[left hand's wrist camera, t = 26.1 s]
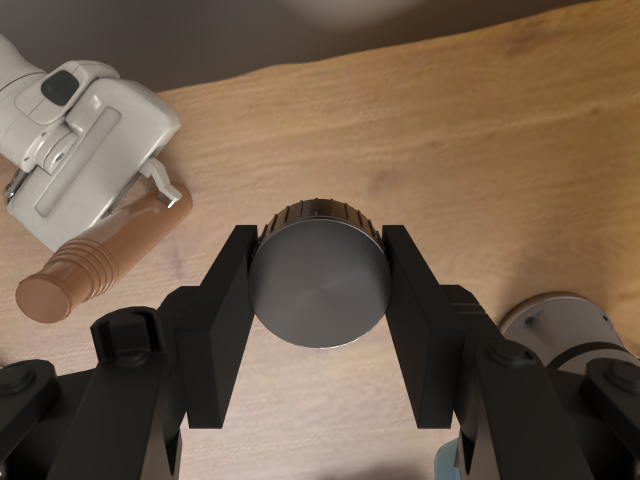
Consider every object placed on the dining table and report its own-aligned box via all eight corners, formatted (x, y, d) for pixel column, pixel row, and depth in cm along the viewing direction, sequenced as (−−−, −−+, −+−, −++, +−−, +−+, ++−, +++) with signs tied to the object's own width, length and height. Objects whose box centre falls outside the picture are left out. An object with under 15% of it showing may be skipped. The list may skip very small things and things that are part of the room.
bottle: (200, 205, 48) (94, 309, 25) (172, 226, 49) (46, 344, 26) (173, 174, 47) (36, 254, 24) (145, 196, 48) (-13, 294, 25)
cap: (376, 187, 13) (386, 205, 11) (389, 304, 15) (400, 340, 13) (243, 208, 14) (229, 230, 12) (270, 321, 15) (262, 358, 13)
